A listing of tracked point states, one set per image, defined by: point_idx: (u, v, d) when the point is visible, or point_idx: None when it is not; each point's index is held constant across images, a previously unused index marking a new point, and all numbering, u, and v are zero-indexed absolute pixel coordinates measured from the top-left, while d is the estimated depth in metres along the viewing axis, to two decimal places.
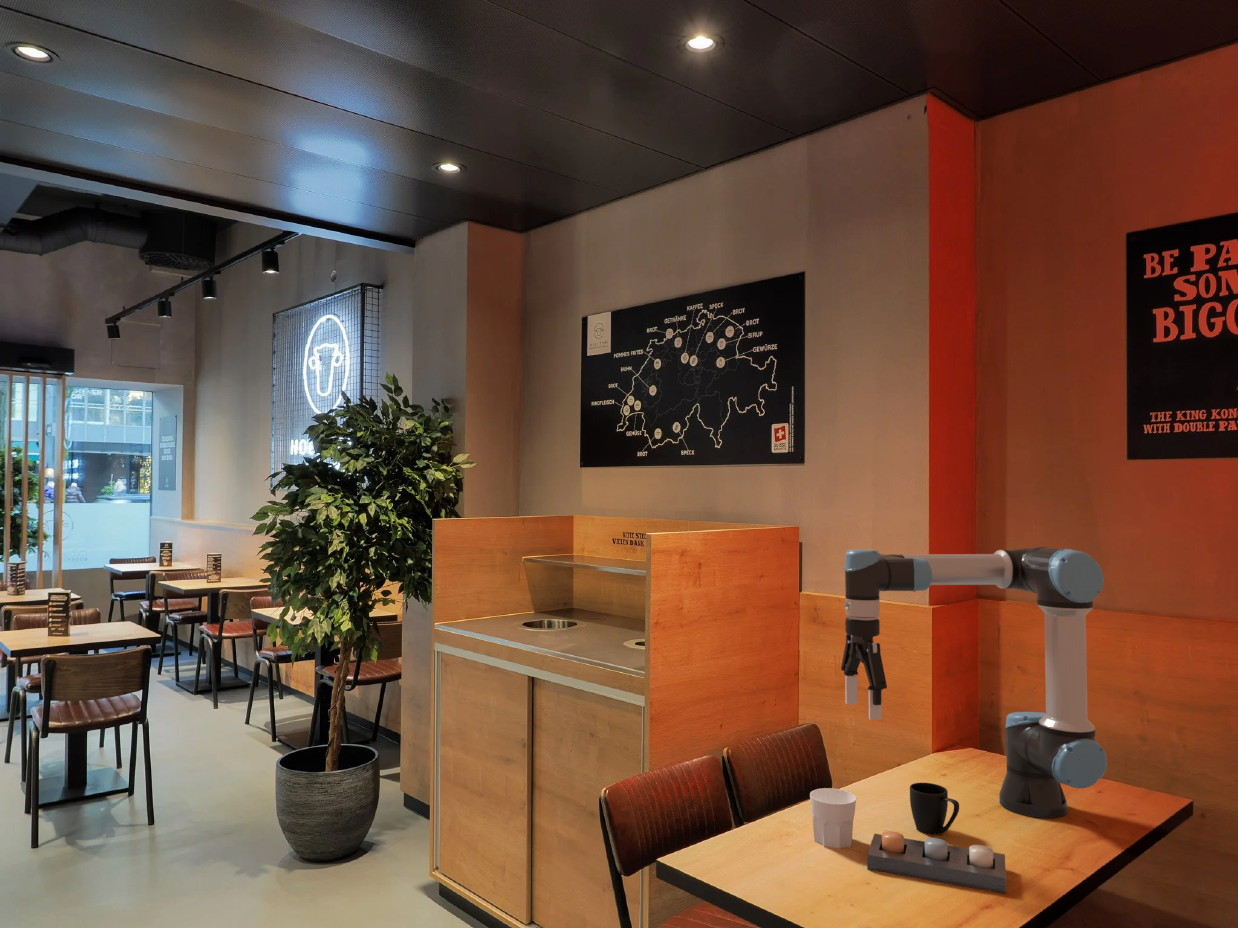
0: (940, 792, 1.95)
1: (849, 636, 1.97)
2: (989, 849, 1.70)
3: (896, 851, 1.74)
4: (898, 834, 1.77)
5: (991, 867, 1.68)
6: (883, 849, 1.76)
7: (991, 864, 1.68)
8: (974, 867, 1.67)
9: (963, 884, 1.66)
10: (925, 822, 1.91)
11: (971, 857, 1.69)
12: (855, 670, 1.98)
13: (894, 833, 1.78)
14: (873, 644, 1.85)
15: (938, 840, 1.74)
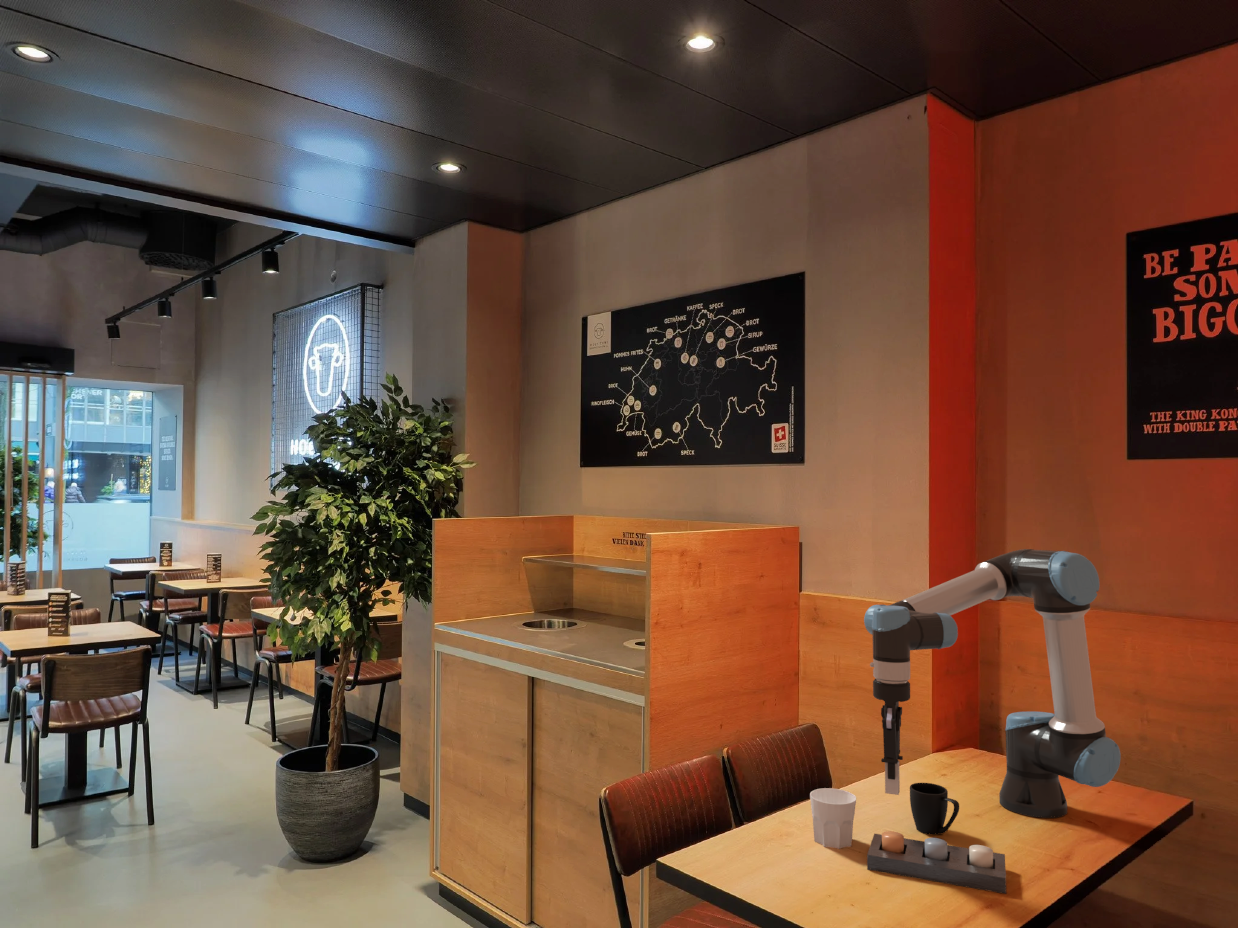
0: (940, 792, 1.95)
1: None
2: (989, 849, 1.70)
3: (896, 851, 1.74)
4: (898, 834, 1.77)
5: (991, 867, 1.68)
6: (883, 849, 1.76)
7: (991, 864, 1.68)
8: (974, 867, 1.67)
9: (963, 884, 1.66)
10: (925, 822, 1.91)
11: (971, 857, 1.69)
12: None
13: (894, 833, 1.78)
14: (887, 721, 1.72)
15: (938, 840, 1.74)
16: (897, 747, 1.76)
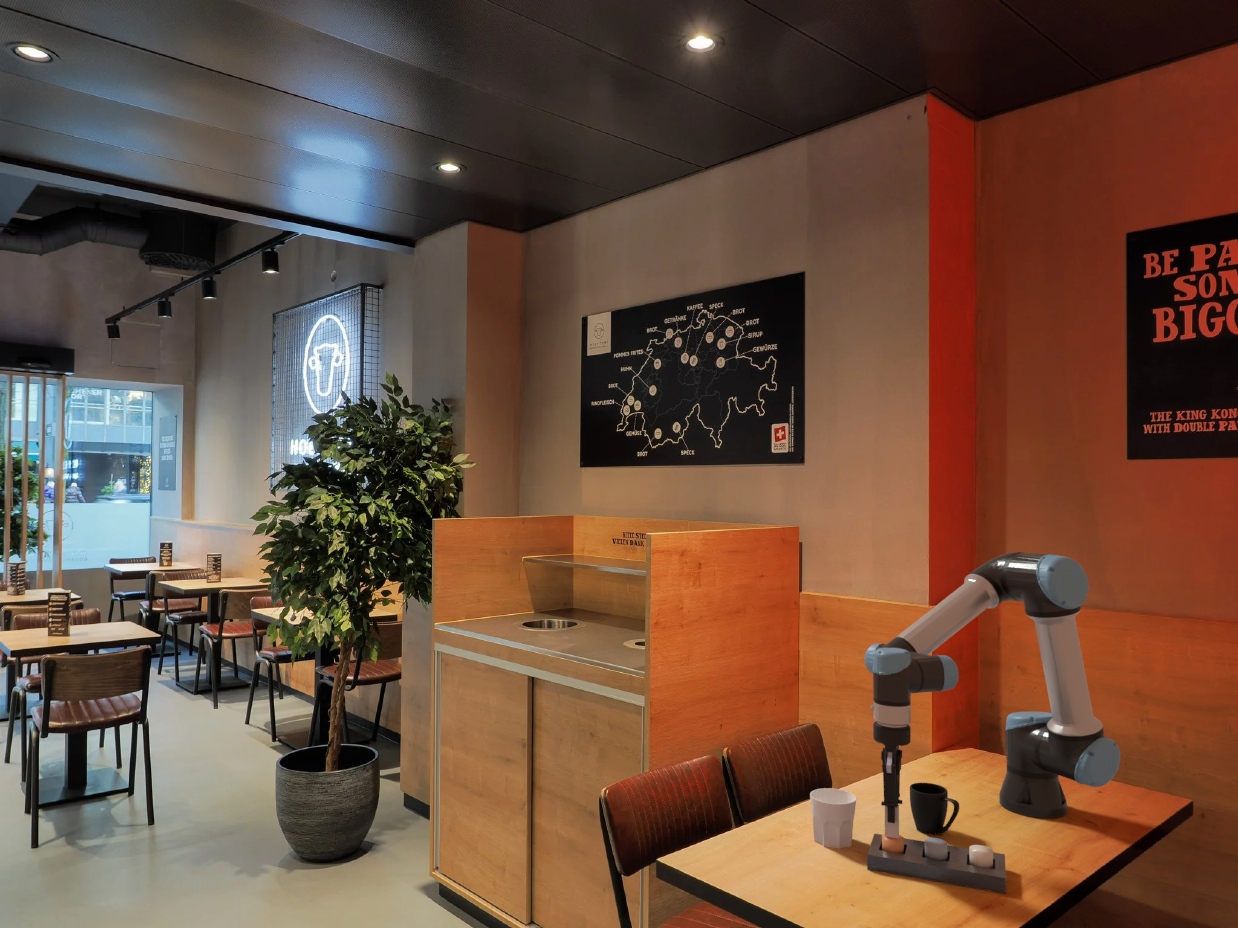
0: (940, 792, 1.95)
1: None
2: (989, 849, 1.70)
3: None
4: None
5: (991, 867, 1.68)
6: None
7: (991, 864, 1.68)
8: (974, 867, 1.67)
9: (963, 884, 1.66)
10: (925, 822, 1.91)
11: (971, 857, 1.69)
12: None
13: None
14: (887, 766, 1.72)
15: (938, 840, 1.74)
16: (897, 790, 1.76)
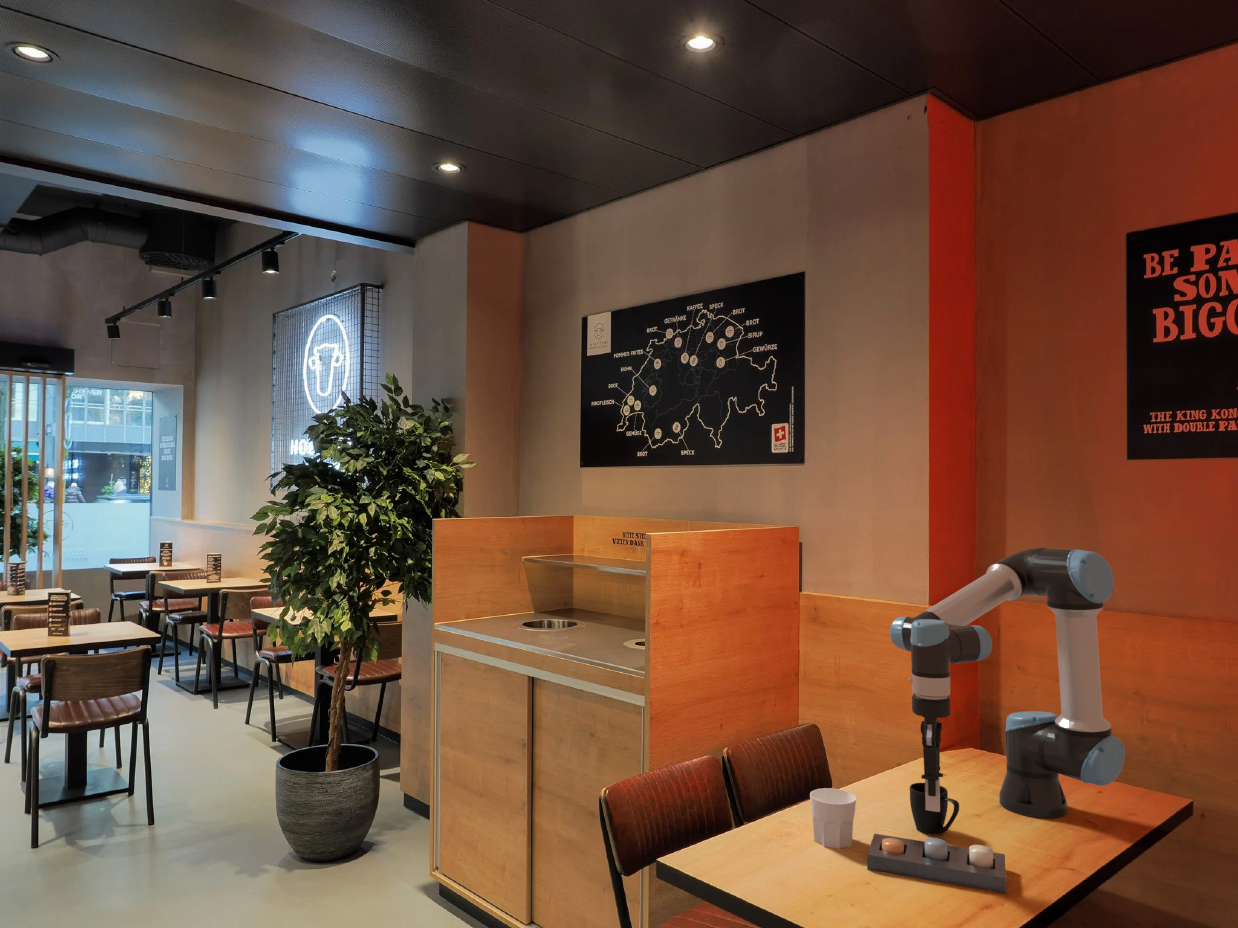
0: (940, 792, 1.95)
1: None
2: (989, 849, 1.70)
3: None
4: (898, 841, 1.77)
5: (991, 867, 1.68)
6: None
7: (991, 864, 1.68)
8: (974, 867, 1.67)
9: (963, 884, 1.66)
10: (925, 822, 1.91)
11: (971, 857, 1.69)
12: None
13: (894, 840, 1.78)
14: (927, 739, 1.69)
15: (938, 840, 1.74)
16: (937, 763, 1.73)
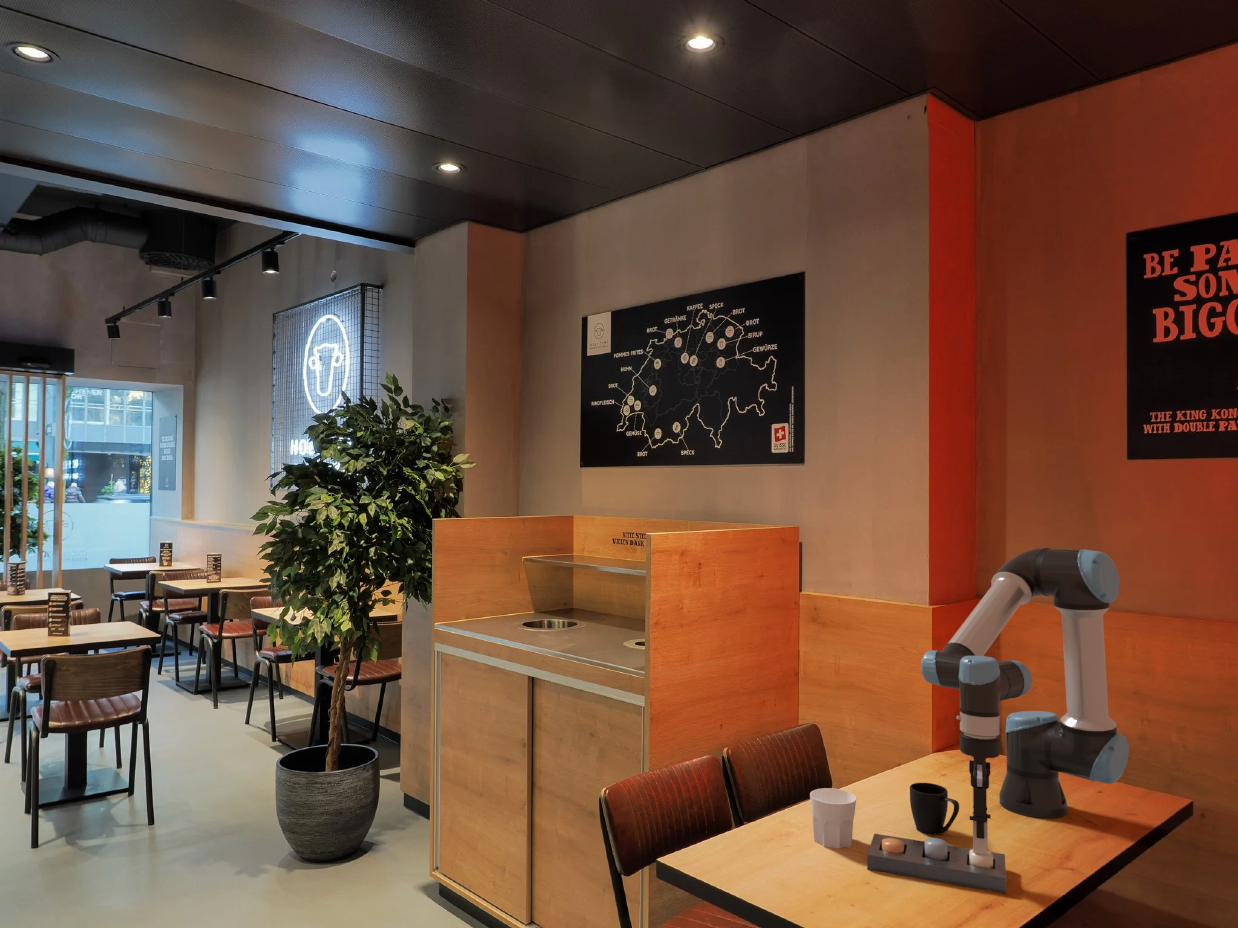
0: (940, 792, 1.95)
1: None
2: (989, 853, 1.70)
3: None
4: (898, 841, 1.77)
5: None
6: None
7: (991, 868, 1.68)
8: (974, 867, 1.67)
9: (963, 884, 1.66)
10: (925, 822, 1.91)
11: (971, 861, 1.69)
12: None
13: (894, 840, 1.78)
14: (978, 780, 1.65)
15: (938, 840, 1.74)
16: None
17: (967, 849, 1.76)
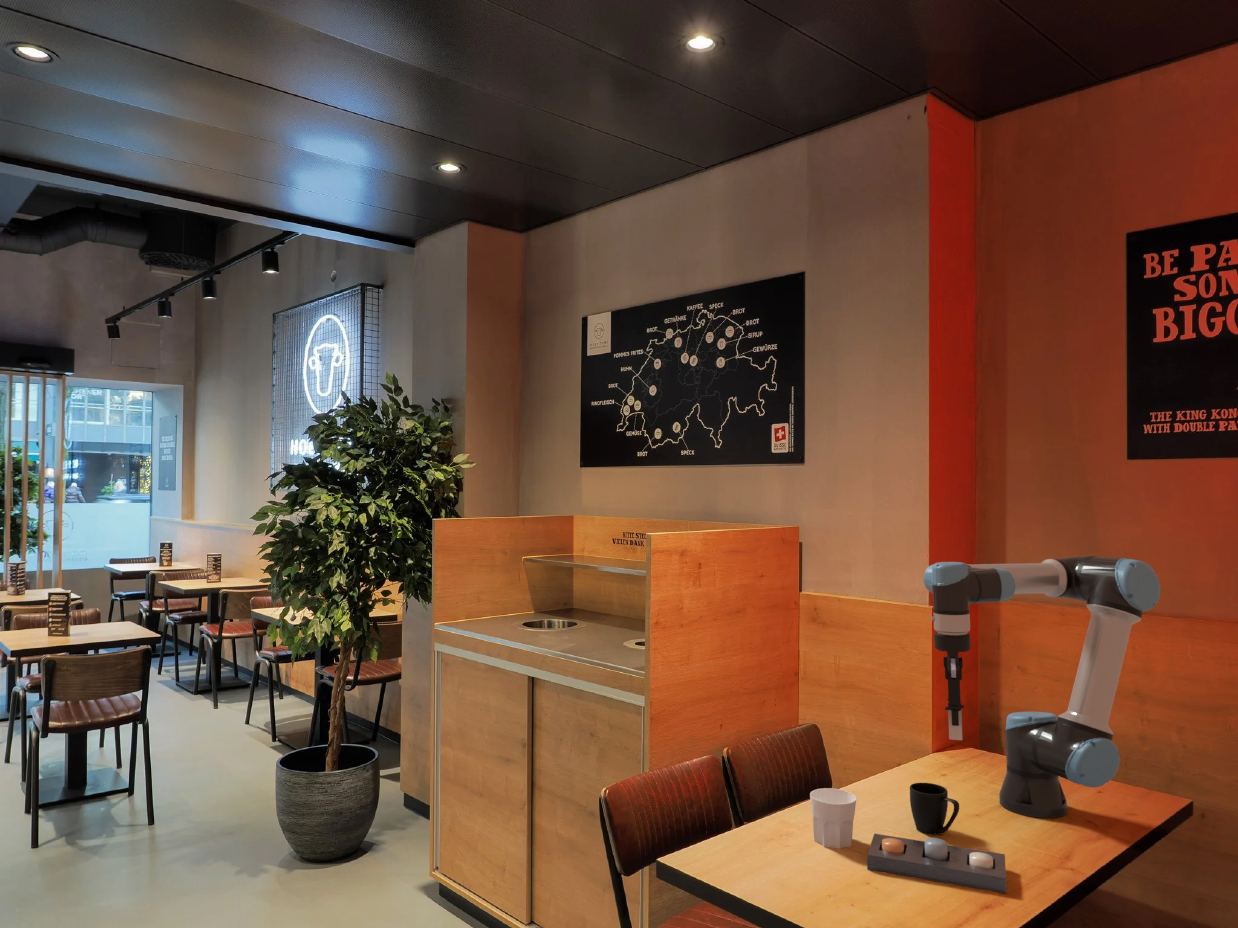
0: (940, 792, 1.95)
1: None
2: (989, 856, 1.70)
3: None
4: (898, 841, 1.77)
5: None
6: None
7: None
8: (974, 867, 1.67)
9: (963, 884, 1.66)
10: (925, 822, 1.91)
11: (971, 864, 1.69)
12: None
13: (894, 840, 1.78)
14: (952, 671, 1.81)
15: (938, 840, 1.74)
16: None
17: (967, 849, 1.76)
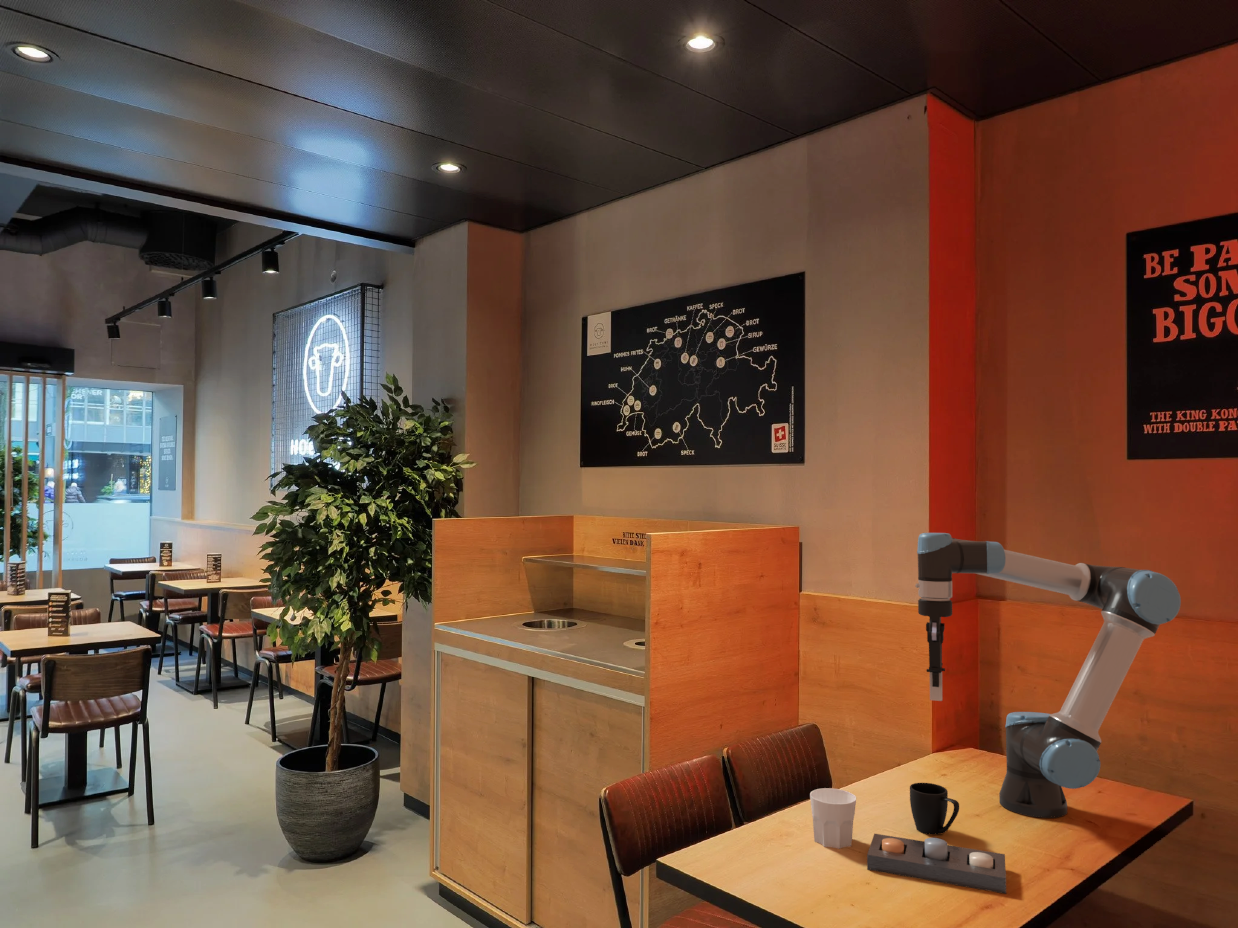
0: (940, 792, 1.95)
1: None
2: (989, 856, 1.70)
3: None
4: (898, 841, 1.77)
5: None
6: None
7: None
8: (974, 867, 1.67)
9: (963, 884, 1.66)
10: (925, 822, 1.91)
11: (971, 864, 1.69)
12: None
13: (894, 840, 1.78)
14: (932, 634, 1.91)
15: (938, 840, 1.74)
16: None
17: (967, 849, 1.76)
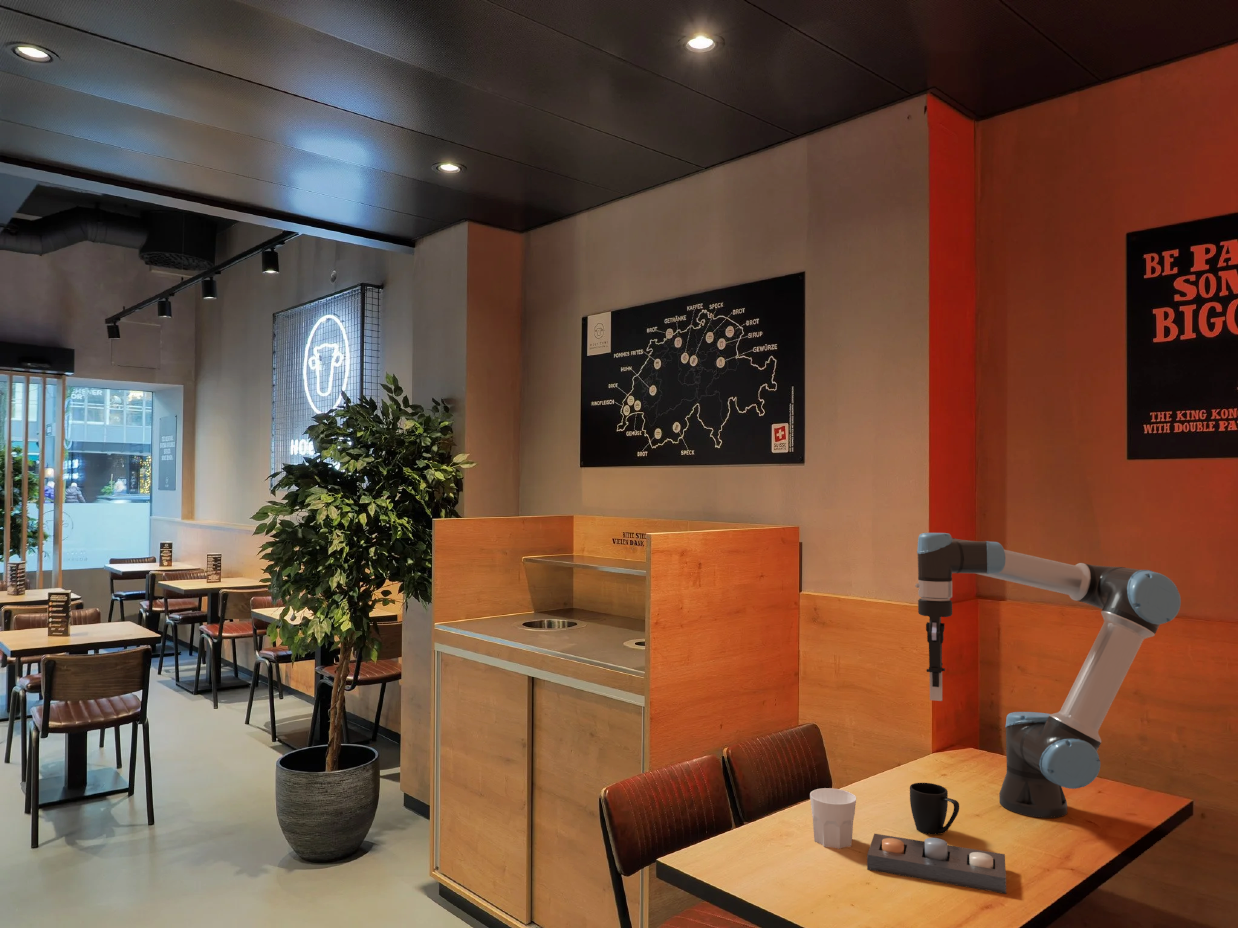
0: (940, 792, 1.95)
1: None
2: (989, 856, 1.70)
3: None
4: (898, 841, 1.77)
5: None
6: None
7: None
8: (974, 867, 1.67)
9: (963, 884, 1.66)
10: (925, 822, 1.91)
11: (971, 864, 1.69)
12: None
13: (894, 840, 1.78)
14: (932, 634, 1.91)
15: (938, 840, 1.74)
16: None
17: (967, 849, 1.76)
